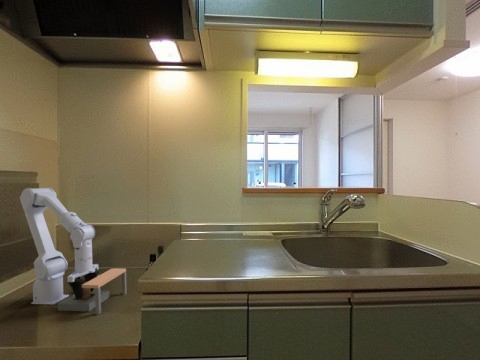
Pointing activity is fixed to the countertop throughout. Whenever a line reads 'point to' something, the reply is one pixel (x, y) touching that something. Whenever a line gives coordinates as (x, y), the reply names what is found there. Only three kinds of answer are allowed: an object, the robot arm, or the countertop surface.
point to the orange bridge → (103, 280)
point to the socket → (81, 302)
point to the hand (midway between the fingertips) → (84, 294)
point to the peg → (86, 294)
